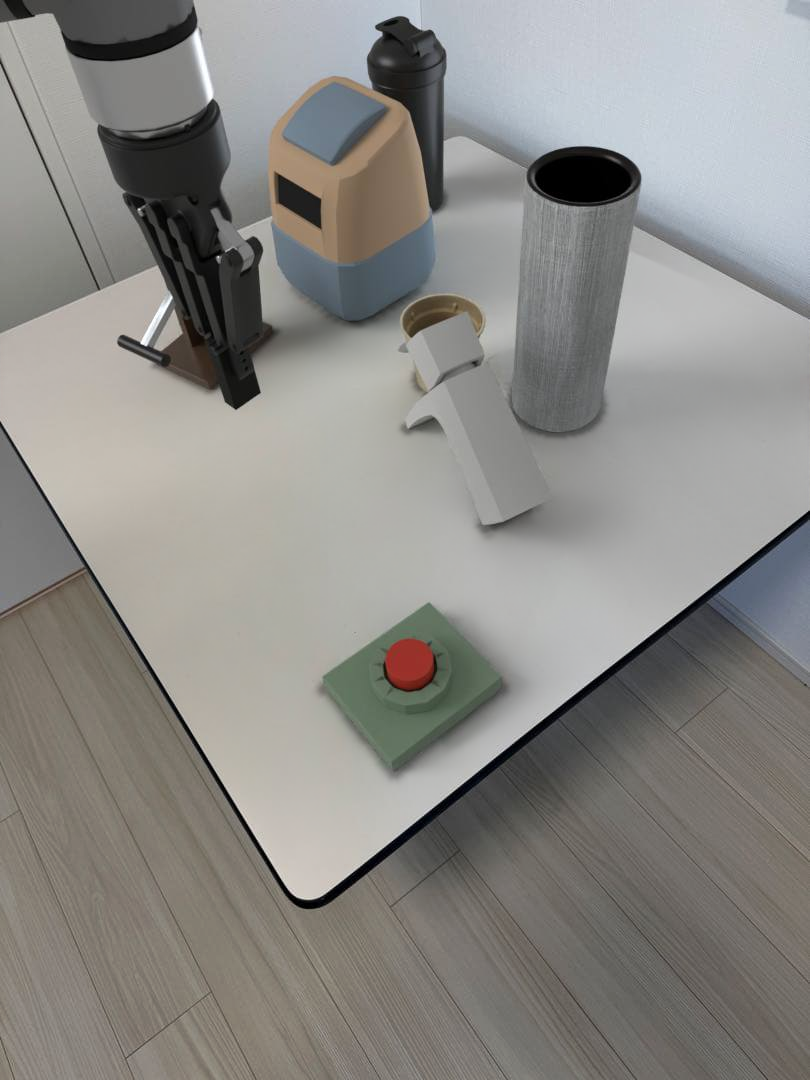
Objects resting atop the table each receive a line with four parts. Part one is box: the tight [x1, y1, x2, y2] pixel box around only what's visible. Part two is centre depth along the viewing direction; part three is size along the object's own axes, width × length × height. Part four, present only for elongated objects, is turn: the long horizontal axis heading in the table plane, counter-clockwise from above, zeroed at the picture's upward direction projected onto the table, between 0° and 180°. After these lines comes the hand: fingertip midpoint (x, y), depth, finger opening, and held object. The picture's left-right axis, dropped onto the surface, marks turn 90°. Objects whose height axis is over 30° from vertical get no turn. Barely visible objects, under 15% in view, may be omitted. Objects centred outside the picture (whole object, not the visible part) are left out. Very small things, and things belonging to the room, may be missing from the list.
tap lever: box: [116, 290, 176, 368], centre depth 92 cm, size 13×7×2 cm, turn 146°
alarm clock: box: [267, 75, 436, 321], centre depth 99 cm, size 17×17×23 cm
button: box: [385, 638, 434, 690], centre depth 69 cm, size 4×4×2 cm
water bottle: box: [366, 15, 448, 213], centre depth 110 cm, size 10×10×23 cm
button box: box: [321, 601, 503, 773], centre depth 71 cm, size 12×10×4 cm
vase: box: [511, 145, 643, 433], centre depth 82 cm, size 10×10×27 cm
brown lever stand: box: [156, 279, 274, 390], centre depth 96 cm, size 12×9×14 cm
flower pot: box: [399, 292, 487, 394], centre depth 92 cm, size 9×9×9 cm
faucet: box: [397, 311, 555, 526], centre depth 84 cm, size 6×16×20 cm
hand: (242, 397), depth 68 cm, fingers closed
